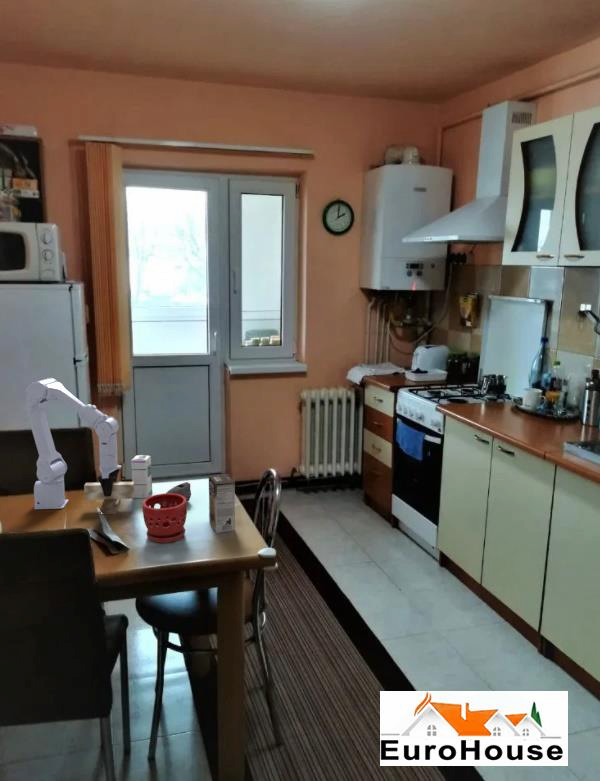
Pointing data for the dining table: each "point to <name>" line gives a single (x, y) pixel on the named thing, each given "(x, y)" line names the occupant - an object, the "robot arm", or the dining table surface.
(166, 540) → the plant pot
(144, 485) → the syrup box
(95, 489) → the metal bar
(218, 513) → the coffee box
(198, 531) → the dining table surface
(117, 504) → the walnut ridge
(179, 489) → the perforated stone tool
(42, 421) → the robot arm
